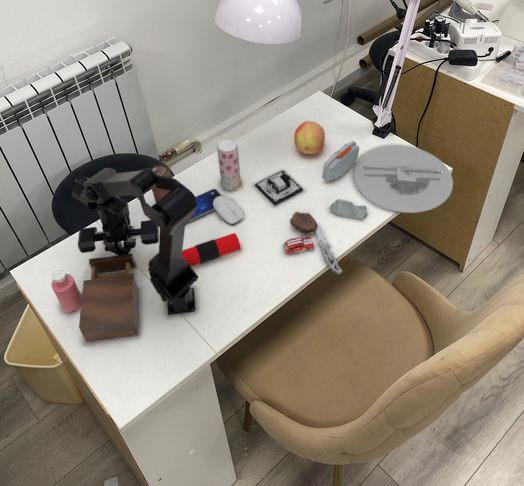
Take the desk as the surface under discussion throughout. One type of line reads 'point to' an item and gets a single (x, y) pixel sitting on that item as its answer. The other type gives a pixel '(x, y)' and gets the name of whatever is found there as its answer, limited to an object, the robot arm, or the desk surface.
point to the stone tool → (348, 209)
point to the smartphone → (205, 204)
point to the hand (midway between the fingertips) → (126, 257)
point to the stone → (303, 222)
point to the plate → (403, 179)
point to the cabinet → (109, 308)
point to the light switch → (278, 187)
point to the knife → (327, 251)
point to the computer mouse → (228, 209)
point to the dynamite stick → (211, 249)
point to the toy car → (298, 245)
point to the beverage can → (229, 164)
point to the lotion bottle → (66, 291)
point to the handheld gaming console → (340, 161)
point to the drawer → (112, 265)
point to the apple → (309, 137)
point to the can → (162, 171)
